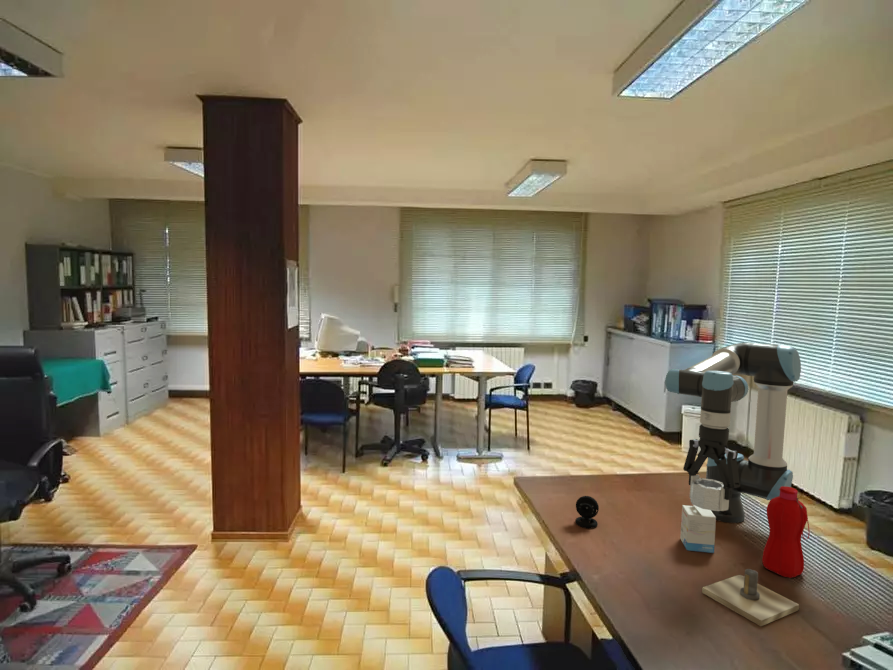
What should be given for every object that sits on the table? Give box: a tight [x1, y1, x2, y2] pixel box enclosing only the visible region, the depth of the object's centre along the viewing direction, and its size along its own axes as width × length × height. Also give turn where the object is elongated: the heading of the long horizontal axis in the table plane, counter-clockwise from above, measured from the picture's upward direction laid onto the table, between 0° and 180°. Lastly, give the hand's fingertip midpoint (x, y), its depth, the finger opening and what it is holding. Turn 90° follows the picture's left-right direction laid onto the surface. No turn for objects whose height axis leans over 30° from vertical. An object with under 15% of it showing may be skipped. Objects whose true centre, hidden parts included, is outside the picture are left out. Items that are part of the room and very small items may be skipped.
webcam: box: [575, 495, 600, 530], centre depth 182 cm, size 8×8×10 cm
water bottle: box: [761, 486, 810, 579], centre depth 154 cm, size 9×11×25 cm
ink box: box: [679, 504, 717, 554], centre depth 169 cm, size 9×8×13 cm
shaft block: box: [701, 568, 800, 627], centre depth 138 cm, size 16×16×8 cm
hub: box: [689, 477, 724, 511], centre depth 150 cm, size 9×9×6 cm
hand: (708, 503), depth 150 cm, fingers closed on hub, 9 cm apart
